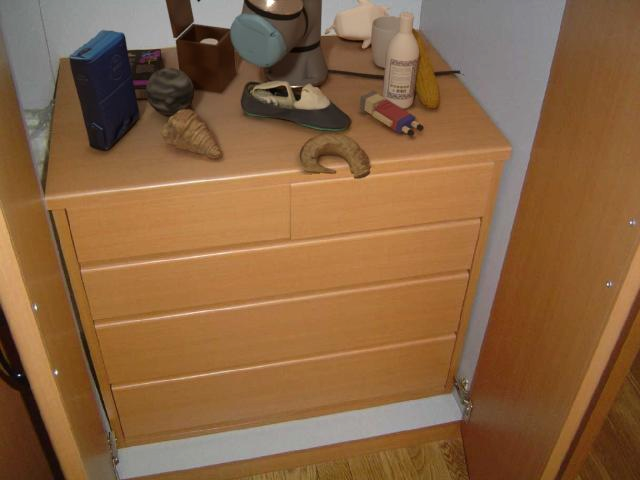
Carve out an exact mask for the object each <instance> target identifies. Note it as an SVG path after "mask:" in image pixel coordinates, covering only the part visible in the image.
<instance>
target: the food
mask: <svg viewBox="0 0 640 480" xmlns="http://www.w3.org/2000/svg"><path fill="white" fill-rule="evenodd" d="M412 33H413V35H414V37H415V39H416V41H417V43H418V47H419V60H418V68H417V76H416V84H415V93H416V94H417V96H418V98H419V100H420V102H421V103H422V104H423V105H424V107H426V109H429V110H434V109H437V108H438V106H439V105H440V104H439V102H440V99H441V98H440V92H439V91H440V89H439V85H438V81H437V77H436V75H434V72H435V71H434V69H433V65H432V62H431V58H430V56H429V54H428V52H427V50H426V47H425V45H424V43H423V40H422V38H421V36H420V34H419V32H418V31H417V30H416V29H415V28H414V27H413V28H412Z"/></svg>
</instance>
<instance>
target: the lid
mask: <svg viewBox="0 0 640 480" xmlns="http://www.w3.org/2000/svg"><path fill="white" fill-rule="evenodd" d="M191 2H192V1H191V0H165V4H166V9H167V13H168V18H169V23H170V27H171V34H172V37H173V39H178V38H179V37H180V36H181V35H182V34H183V33H184V32H185V31H186V30H187V29H188V28H189V27H190V26H191V25H192V24H194V22H195V18H194V13H193V8H192V4H191Z"/></svg>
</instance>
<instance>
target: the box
mask: <svg viewBox="0 0 640 480" xmlns="http://www.w3.org/2000/svg"><path fill="white" fill-rule="evenodd" d="M127 50H128V57H129V62H130V67H131V72H132V77H133V83H134V88H135V93H136V98H137V100H148V99H147V94H146V86H147V83H148V80H149V78H150V77H151V76H152V74H154V73H155V72H156V71H158V70H160V69H162V65H163V57H162V49H161V48H152V49H127Z"/></svg>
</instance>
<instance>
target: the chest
mask: <svg viewBox="0 0 640 480" xmlns="http://www.w3.org/2000/svg"><path fill="white" fill-rule="evenodd" d="M230 29H231V28H227V27H221V26H220V27H219V26H212V25H207V24H199V23H192V24H191V25H190V26H189V27H188V28H187V29H186V30H185V31H184V32H183V33H182V34H181V35H180V36H179V37H178V38H176V39H175V48H176V54H177V62H178V69H179V70H181V71H183V72H184V73H185V74H186V75H187V76H188V77H189V78H190V79H191V81H192V84H193V86H194V90H198V91H206V92H213V93H217V94H222V93H223V91H225V90H226V88H227V87H228V86H229V84H230V83H231V82H232V81H233V79H234V78H235V77H236V76H237V67H236V66H237V65H236V51H235V50H236V49H235V48H234V46H233V44H232V42H231V38H230ZM204 39H215V40H217V41H218V43H217V44H216V45H214V44H207V43H200V42H201V41H202V40H204Z"/></svg>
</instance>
